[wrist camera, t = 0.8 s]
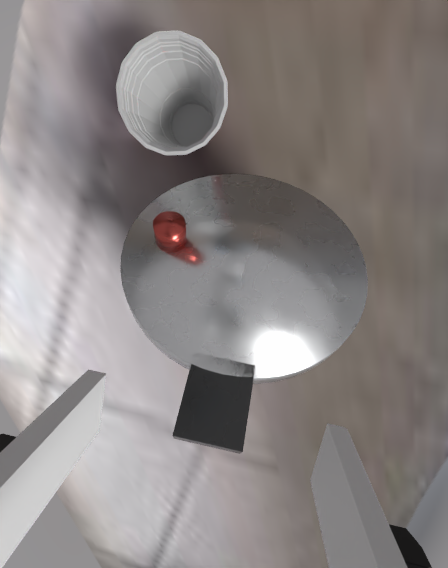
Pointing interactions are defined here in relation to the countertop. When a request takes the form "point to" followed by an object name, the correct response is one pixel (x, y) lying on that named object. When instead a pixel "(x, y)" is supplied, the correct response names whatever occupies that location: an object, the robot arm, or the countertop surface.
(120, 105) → the plastic cup
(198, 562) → the countertop surface
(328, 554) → the robot arm
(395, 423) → the countertop surface
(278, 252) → the cooker lid
